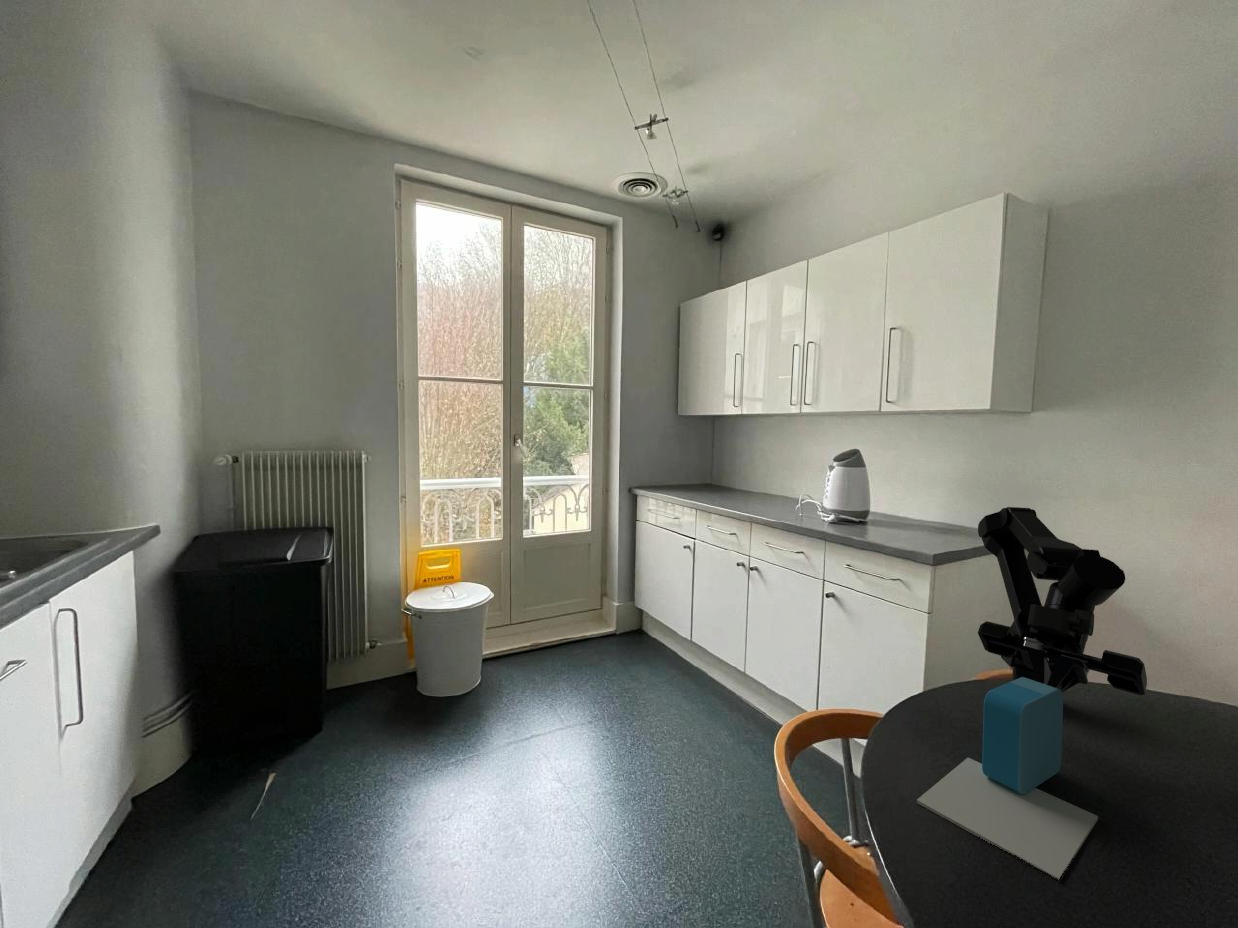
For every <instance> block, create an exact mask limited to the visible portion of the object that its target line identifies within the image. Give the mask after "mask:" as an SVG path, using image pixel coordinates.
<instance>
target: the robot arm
mask: <svg viewBox="0 0 1238 928" xmlns="http://www.w3.org/2000/svg"><path fill="white" fill-rule="evenodd" d="M977 533H978V534H977V535H978V537H979V538H981V540H982V544H983V546H984V548H985V549H986V550H987V551H988V552H989V553H991V554H992V555H993V556H995V557H996V558H997V562H998V566H999V570H1000V572H1001V577H1002V579H1003V583H1004V587H1005V592H1006V595H1007V598H1008V601H1009V605H1010V609H1011V612H1012V616H1013V621H1012V623H1011V625H1010V626H1009V625H1004V624H999V623H996V622H991V621H988V620H987V621H984V622H983V623H981V624H979V628H978V630H977V634H978V636H979V639H980V641H981V644H982V647H983V648H984V650H985V651H987V652H988V653H989V654H994V655H998V656H1000V657H1001V659H1002V660H1003V661H1004V663H1006V665H1008V666H1009V667H1010V668H1012V672H1011V673H1012V675H1011V681H1014V680H1016V679H1019V678H1021V677H1025V678H1028V679H1031V680H1034V681H1037V682H1040V683H1042V684H1045V685H1048V686H1051V687H1054V688H1057V689H1060V690H1061V691H1062V694H1064V692H1067V691H1068V690H1069V689H1071V688H1073V687H1075V686H1076V685H1078V684H1081V685H1088V683H1089V679H1088V675H1089V674H1088V673H1090V671H1093V672H1098V673H1102V674H1105V675H1107V678H1106V679H1107V680H1106V681H1107V682H1108V683H1109V684H1110V685H1111V686H1112V687H1113V689H1116V690H1120V691H1123V692H1127V693H1130V694H1135V695H1138V696H1145V695H1146V691H1147V686H1148V685H1147V683H1148V678H1147V672H1146V667H1145V666H1146V665H1145V663H1144V662H1143V661H1142V660H1141V659H1140V657H1138V656H1132V655H1128V654H1124V653H1120V652H1116V651H1111V650H1107V649H1105V650H1104V651H1103V652H1102V655H1101V657H1096V656H1093V655H1089V654H1086V653H1084V652H1085V649H1086V645H1087V642H1088V638H1089V637H1092V636H1093V635H1094V628H1095V613H1094V612H1095V609H1096V607H1097V606H1099V605H1102V604H1104V603H1105V602H1106V601H1107V600H1109V598H1111V596H1112V595H1114V594H1115V593H1116V592H1117V591H1118V590H1119V589H1121V588H1122V586H1123V585H1124V584H1125V583H1126V574H1125V572H1124V570H1123V568H1120V566H1119V565H1117V564H1116V562H1114V561H1112V560H1110V559H1108V558H1107V557H1104V556H1101V553H1100V551H1099V550H1098V549H1088V548H1081V547H1079V546H1078V545H1077V544H1075V543H1072V542H1069V541H1066V540H1062V539H1060V538H1058V537H1057V536H1056V535H1055V534H1054V533H1053V532H1052V531H1051V530H1050V529H1049V528H1048V527H1047V526H1046V525H1045V524H1044V522H1042V521H1041V519H1040V518H1039V517H1038V515H1037V512H1036V510H1035V509H1031V508H1030V507H1020V506H1019V507H1016V506H1007V507H1003V508H1001V509H1000V510H999V511H997V512H994V513H989V514H986V515H984V516H983V518H982V519H981V520H980V521H979V522H978V525H977ZM1025 550H1026V551H1027V553H1028V554H1027V556H1026V551H1025ZM1034 578H1035V579H1037V580H1044V581H1054V582H1052V583H1051V584H1050V585H1049V588H1048V591H1047V594H1046V598H1045V602H1044V605H1043V604H1042V602H1041V598H1040V595H1039V592H1038V589H1037V586H1036V584H1035V579H1034Z"/></svg>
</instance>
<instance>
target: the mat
mask: <svg viewBox="0 0 1238 928" xmlns="http://www.w3.org/2000/svg"><path fill="white" fill-rule="evenodd" d="M916 804H918V805H920V806H922V807H924V808H925V809H927V810H929V811H930V812H932V813H934V814H936V815H938V816H940V818H943V819H944V820H946V821H949V822H951V823H953V824H954V825H956V826H957V827H960V828H961V829H963V830H965V831H967V832H968V833H970V834H972V835H974V836H975V837H977V838H979V837H980V838H979V839H981V840H982V839H983V841H984V840H985V841H984V842H986V841H987V842H986V843H988V844H990V843H991V844H992V845H991V844H990V845H991V846H993V845H995V846H997V847H999V848H1000V849H1003V850H1004V851H1007V852H1008V853H1011V854H1012V855H1016V856H1017V857H1019V858H1020V859H1023V860H1025V861H1026V862H1027V863H1030V864H1031V865H1033V866H1034V867H1036V868H1038V869H1040V870H1042V871H1044V872H1046V873H1048V874H1049V875H1051V876H1052V877H1054V878H1057V879H1058V880H1059V879H1060V877H1061V876H1062V874H1063V873H1064V871H1065V870H1066V869H1067V870H1068V868H1069V867H1070V865H1071V863H1072V862H1073V860H1074V859H1075V857H1076V856H1077V854H1078V852H1079V851H1080V849H1081V847H1082V845H1083V844H1084V843H1085V841H1086V840H1087V838H1088V836H1089V835H1090V833H1091V832H1092V830H1093V828H1094V827H1095V825H1096V824H1097V822H1098V820H1099V816H1098V815H1096V814H1094V813H1092V812H1089V811H1088V810H1085V809H1084V808H1083V809H1082V808H1080V807H1078V806H1077V805H1074V804H1072V803H1070V802H1067V801H1065V800H1064V799H1061V798H1058V797H1056V796H1054V795H1052V794H1050V793H1047V792H1045V791H1044V790H1041V789H1038V788H1037V787H1035V788H1034V789H1032V790H1030V791H1029V792H1027V793H1026V794H1020V793H1018V792H1016V791H1014V790H1013V789H1011V788H1009V787H1007V786H1005V785H1003V784H1001V783H999V782H997V781H995V780H993V779H991V778H989V777H987V776H986V775H985V774H984V773H983V770H982V762H979V761H976V760H974V759H973V758H970V757H966V758H965V759H964V760H963V761H962V762H960V763H959V764H958V765H957V766H955V768H953V769H952V770H950V772H948V773H947V774H946V775H944V776H943V778H941V779H940V780H939V781H938V782H936V783H935V784H934V785H933V786H932V787H930V788H929V789H927V791H926V792H924V793H923V794H921V796H920V797H918V798H917V799H916ZM995 846H994V847H995ZM997 847H996V848H997ZM999 848H998V849H999ZM1000 849H999V850H1000ZM1004 851H1003V852H1004ZM1008 853H1007V854H1008ZM1073 858H1074V859H1073ZM1072 859H1073V860H1072ZM1071 861H1072V862H1071ZM1069 864H1070V865H1069ZM1068 866H1069V867H1068ZM1067 867H1068V868H1067ZM1067 870H1066V871H1067ZM1064 874H1065V873H1064ZM1062 877H1063V876H1062Z"/></svg>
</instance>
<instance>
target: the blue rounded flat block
mask: <svg viewBox="0 0 1238 928" xmlns="http://www.w3.org/2000/svg"><path fill="white" fill-rule="evenodd" d="M1063 717H1064V693H1062V691H1061V690H1060V689H1057V688H1054V687H1051V686H1048V685H1045V684H1042V683H1040V682H1037V681H1034V680H1031V679H1028V678H1025V677H1021V678H1019V679H1016V680H1014V681H1012V680H1011V681H1009V682H1007V683H1004V684H1003V685H999V686H997V687H995V688H993V689H991V690H989V691H987V693H986V694H985V697H984V700H983V719H982V720H983V722H982V724H983V725H982V751H981V752H982V757H981V758H982V760H981V761H982V762H981V764H982V770H983V773H984V774H985V775H986V776H987V777H989V778H991V779H993V780H995V781H997V782H999V783H1001V784H1003V785H1005V786H1007V787H1009V788H1011V789H1013V790H1014V791H1016V792H1018V793H1020V794H1026V793H1027V792H1029V791H1030V790H1032V789H1034V788H1037V787H1038V786H1039V785H1041V784H1043V783H1045V781H1048V780H1049V779H1051V778H1052V777H1053V776H1055V775H1056V774H1058V772H1059V771H1060V769H1061V764H1062V757H1063V756H1062V753H1063V751H1062V750H1063V749H1062V748H1063V725H1064V724H1063V723H1064V722H1063Z"/></svg>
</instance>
